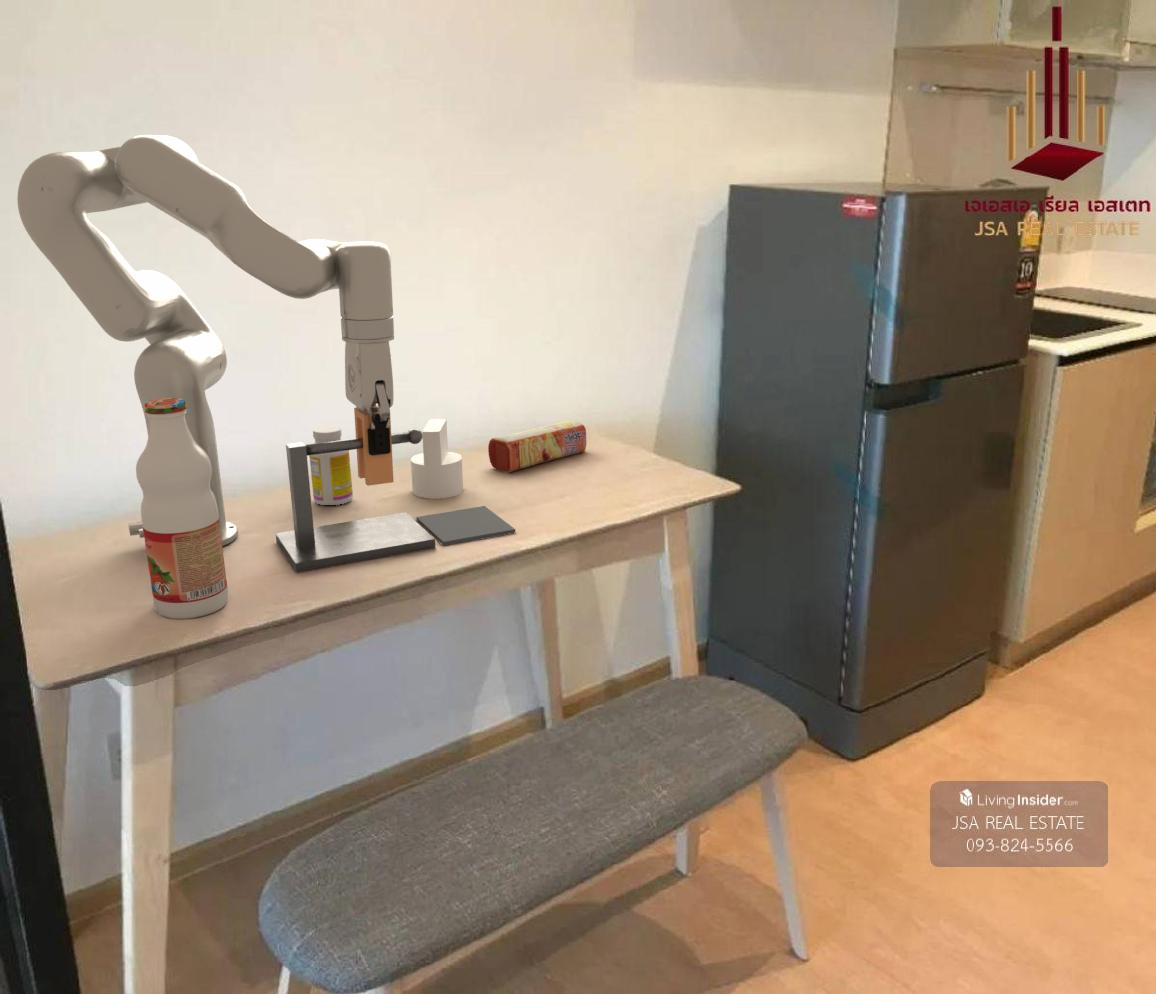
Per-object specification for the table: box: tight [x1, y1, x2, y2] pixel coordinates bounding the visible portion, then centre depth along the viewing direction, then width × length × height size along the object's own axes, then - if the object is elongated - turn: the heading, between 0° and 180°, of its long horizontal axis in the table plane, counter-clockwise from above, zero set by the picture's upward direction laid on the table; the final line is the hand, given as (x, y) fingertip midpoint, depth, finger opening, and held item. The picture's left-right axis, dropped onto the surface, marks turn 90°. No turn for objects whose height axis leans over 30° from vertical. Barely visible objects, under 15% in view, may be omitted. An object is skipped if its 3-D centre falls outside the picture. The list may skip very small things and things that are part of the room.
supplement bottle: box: [309, 425, 354, 506], centre depth 182 cm, size 7×7×13 cm
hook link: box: [353, 405, 394, 487], centre depth 160 cm, size 4×5×11 cm
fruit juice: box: [135, 398, 229, 620], centre depth 138 cm, size 9×9×28 cm
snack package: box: [487, 420, 587, 473], centre depth 206 cm, size 21×7×7 cm, turn 135°
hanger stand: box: [275, 427, 436, 574], centre depth 161 cm, size 22×14×17 cm, turn 117°
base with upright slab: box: [410, 418, 464, 500], centre depth 187 cm, size 9×9×12 cm
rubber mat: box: [415, 505, 516, 547], centre depth 171 cm, size 12×13×1 cm
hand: (374, 447), depth 160 cm, fingers closed on hook link, 5 cm apart
